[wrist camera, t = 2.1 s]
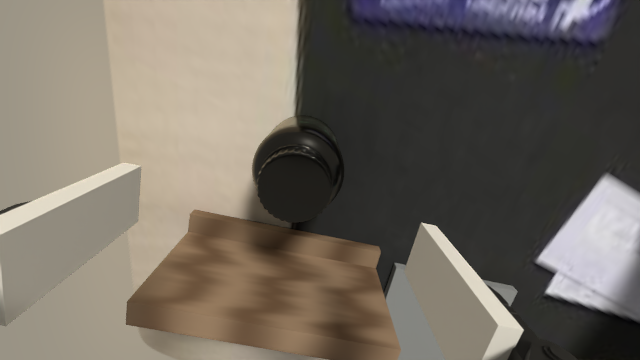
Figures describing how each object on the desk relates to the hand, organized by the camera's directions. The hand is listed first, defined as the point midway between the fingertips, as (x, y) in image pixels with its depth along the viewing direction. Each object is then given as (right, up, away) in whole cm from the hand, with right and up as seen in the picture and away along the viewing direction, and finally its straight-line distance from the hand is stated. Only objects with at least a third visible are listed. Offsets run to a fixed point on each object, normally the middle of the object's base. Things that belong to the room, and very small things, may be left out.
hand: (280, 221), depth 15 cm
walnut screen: (-2, -6, +20) cm, 21 cm away
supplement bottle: (0, +5, +17) cm, 17 cm away
